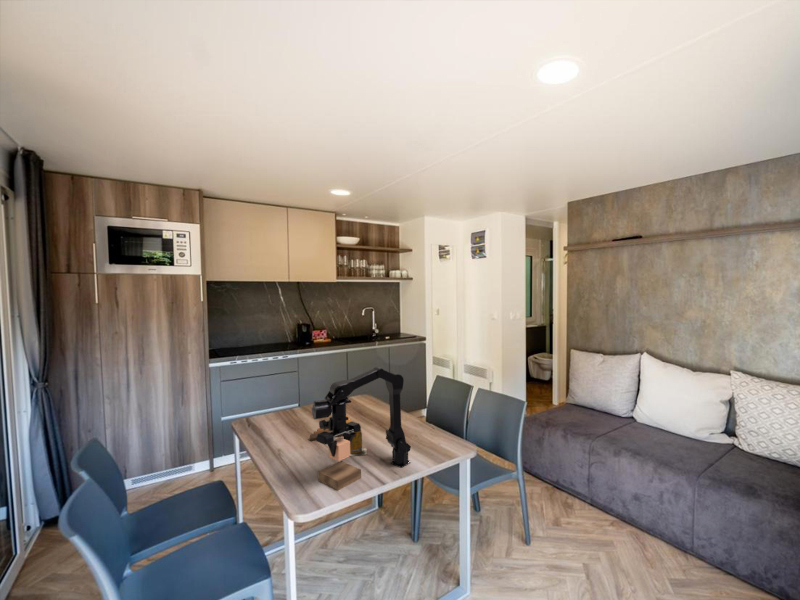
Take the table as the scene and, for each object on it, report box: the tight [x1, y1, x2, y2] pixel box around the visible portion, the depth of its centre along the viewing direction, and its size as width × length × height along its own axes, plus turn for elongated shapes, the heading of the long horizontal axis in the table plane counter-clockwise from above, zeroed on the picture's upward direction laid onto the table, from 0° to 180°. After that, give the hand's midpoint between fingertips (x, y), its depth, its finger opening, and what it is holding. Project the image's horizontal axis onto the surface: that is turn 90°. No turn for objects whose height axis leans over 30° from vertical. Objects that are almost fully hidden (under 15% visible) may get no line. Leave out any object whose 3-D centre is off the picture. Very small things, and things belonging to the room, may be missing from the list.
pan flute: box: [309, 415, 354, 442], centre depth 202 cm, size 25×3×25 cm
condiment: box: [349, 429, 368, 457], centre depth 172 cm, size 7×8×12 cm
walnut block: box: [317, 460, 362, 491], centre depth 147 cm, size 12×12×4 cm
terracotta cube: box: [328, 437, 351, 462], centre depth 147 cm, size 6×6×6 cm
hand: (339, 453), depth 147 cm, fingers closed on terracotta cube, 6 cm apart
